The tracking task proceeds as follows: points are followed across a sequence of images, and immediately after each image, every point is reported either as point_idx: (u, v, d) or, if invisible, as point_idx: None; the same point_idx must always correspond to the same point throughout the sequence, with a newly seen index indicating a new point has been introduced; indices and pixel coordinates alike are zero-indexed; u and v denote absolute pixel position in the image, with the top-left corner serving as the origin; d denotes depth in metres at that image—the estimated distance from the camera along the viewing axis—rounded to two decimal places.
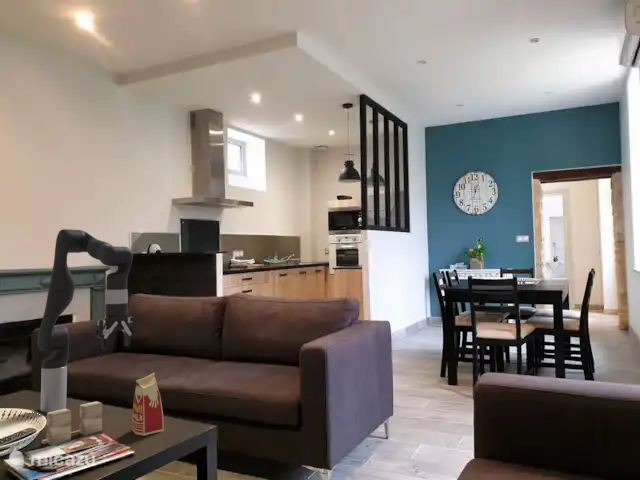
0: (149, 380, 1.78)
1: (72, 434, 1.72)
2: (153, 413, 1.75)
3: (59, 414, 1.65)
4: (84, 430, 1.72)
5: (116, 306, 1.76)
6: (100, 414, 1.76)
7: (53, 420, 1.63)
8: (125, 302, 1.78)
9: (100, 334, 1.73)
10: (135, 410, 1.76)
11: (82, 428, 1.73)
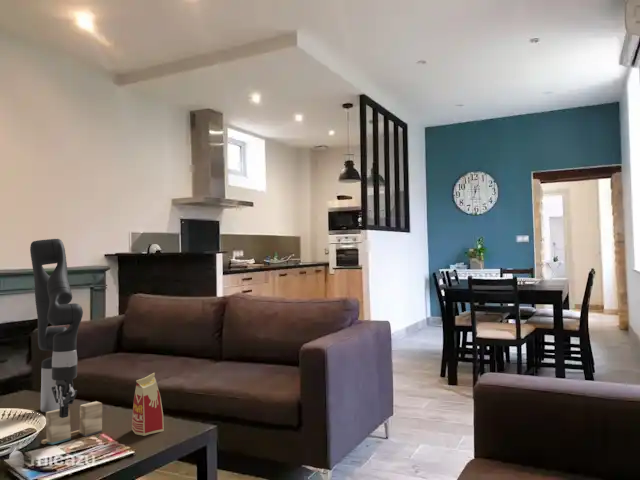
0: (149, 380, 1.78)
1: (72, 434, 1.72)
2: (153, 413, 1.75)
3: (57, 412, 1.66)
4: (84, 430, 1.72)
5: (76, 367, 1.68)
6: (100, 414, 1.76)
7: (52, 419, 1.64)
8: None
9: None
10: (135, 410, 1.76)
11: (82, 428, 1.73)
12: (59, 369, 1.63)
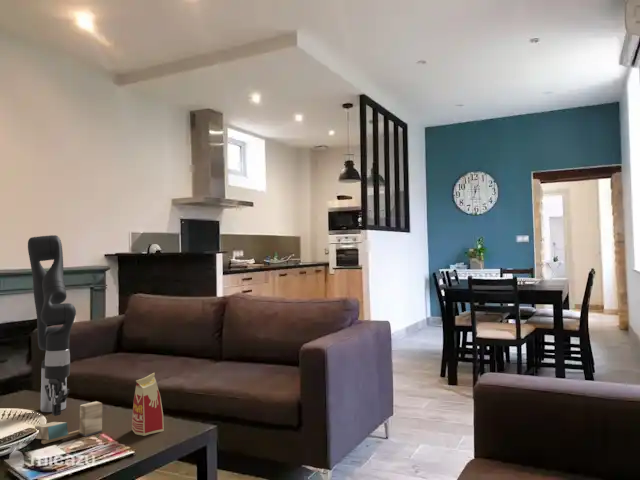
0: (149, 380, 1.78)
1: (72, 434, 1.72)
2: (153, 413, 1.75)
3: None
4: (84, 430, 1.72)
5: (69, 366, 1.70)
6: (100, 414, 1.76)
7: (38, 426, 1.70)
8: None
9: None
10: (135, 410, 1.76)
11: (82, 428, 1.73)
12: (52, 368, 1.65)
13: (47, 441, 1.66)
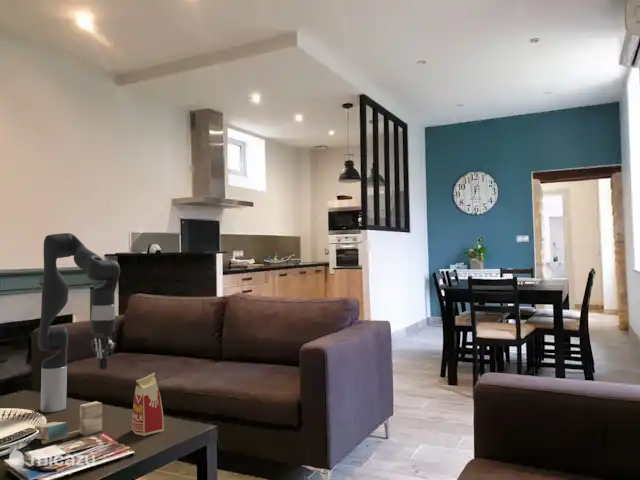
0: (149, 380, 1.78)
1: (72, 434, 1.72)
2: (153, 413, 1.75)
3: None
4: (84, 430, 1.72)
5: (114, 321, 1.73)
6: (100, 414, 1.76)
7: (38, 426, 1.70)
8: None
9: None
10: (135, 410, 1.76)
11: (82, 428, 1.73)
12: (99, 322, 1.68)
13: (47, 441, 1.66)
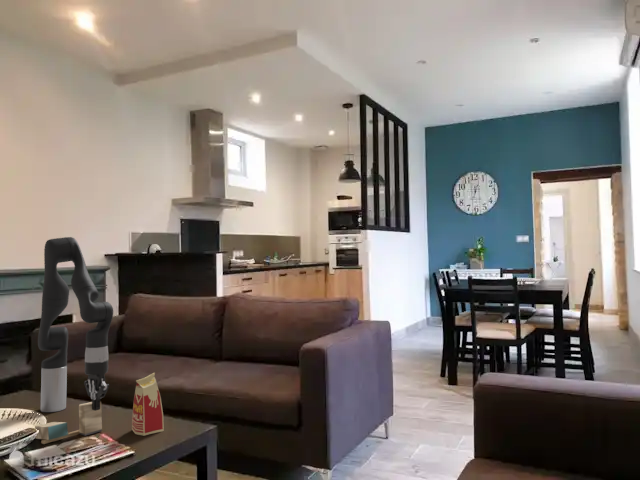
0: (149, 380, 1.78)
1: (72, 434, 1.72)
2: (153, 413, 1.75)
3: None
4: (84, 429, 1.72)
5: None
6: (99, 413, 1.77)
7: (38, 426, 1.70)
8: None
9: None
10: (135, 410, 1.76)
11: (81, 428, 1.73)
12: (92, 364, 1.71)
13: (47, 441, 1.66)
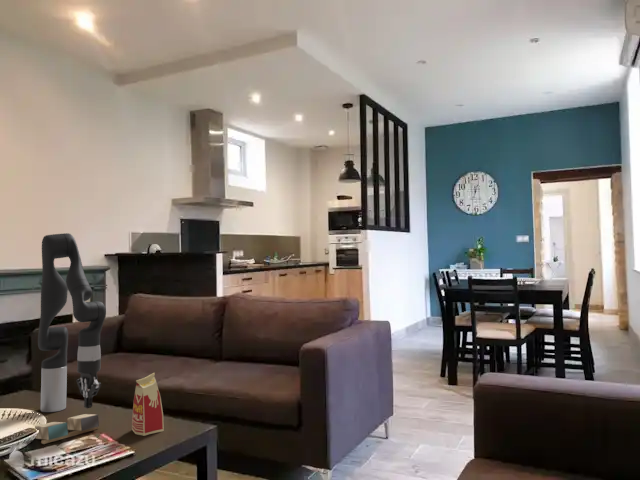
0: (149, 380, 1.78)
1: (72, 434, 1.72)
2: (153, 413, 1.75)
3: None
4: (78, 420, 1.75)
5: (100, 361, 1.79)
6: (87, 414, 1.81)
7: (38, 426, 1.70)
8: None
9: None
10: (135, 410, 1.76)
11: (78, 425, 1.75)
12: (84, 363, 1.74)
13: (47, 441, 1.66)
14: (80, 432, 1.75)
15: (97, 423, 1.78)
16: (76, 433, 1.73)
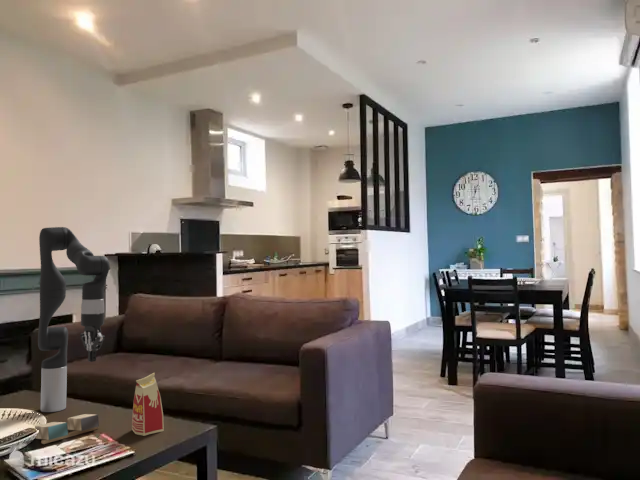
0: (149, 380, 1.78)
1: (72, 434, 1.72)
2: (153, 413, 1.75)
3: None
4: (78, 420, 1.75)
5: None
6: (87, 414, 1.81)
7: (38, 426, 1.70)
8: None
9: None
10: (135, 410, 1.76)
11: (78, 425, 1.75)
12: (88, 315, 1.74)
13: (47, 441, 1.66)
14: (80, 432, 1.75)
15: (97, 423, 1.78)
16: (76, 433, 1.73)
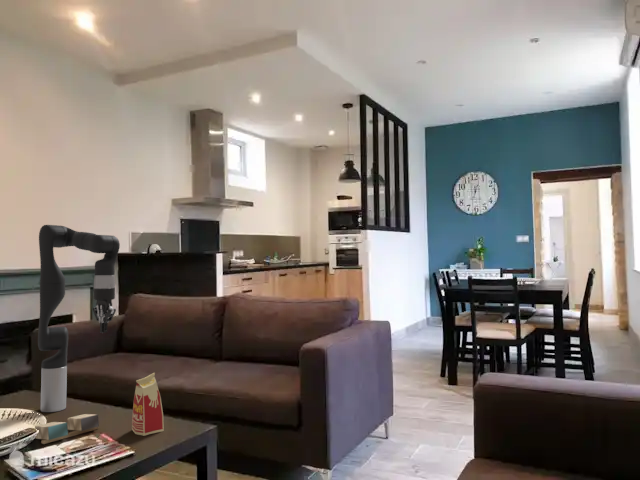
0: (149, 380, 1.78)
1: (72, 434, 1.72)
2: (153, 413, 1.75)
3: None
4: (78, 420, 1.75)
5: (114, 290, 1.93)
6: (87, 414, 1.81)
7: (38, 426, 1.70)
8: None
9: None
10: (135, 410, 1.76)
11: (78, 425, 1.75)
12: (100, 290, 1.88)
13: (47, 441, 1.66)
14: (80, 432, 1.75)
15: (97, 423, 1.78)
16: (76, 433, 1.73)
